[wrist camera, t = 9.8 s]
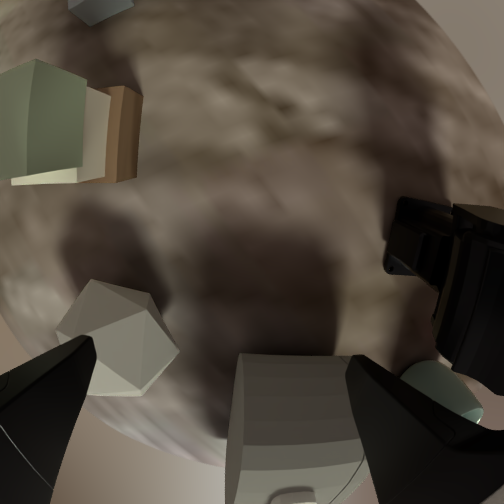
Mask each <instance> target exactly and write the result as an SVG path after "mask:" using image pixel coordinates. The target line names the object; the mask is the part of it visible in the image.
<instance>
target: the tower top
mask: <svg viewBox="0 0 504 504" xmlns="http://www.w3.org/2000/svg"><path fill="white" fill-rule="evenodd" d="M110 101H111V96H109V95H107V94H105V93H102V92H100V91H97V90H95V89H92V88H90V87H87V86H86V96H85V108H84V123H83V167H77V168H70V169H64V170H57V171H51V172H45V173H40V174H34V175H29V176H23V177H17V178H12V185H27V184H51V183H78V182H83V181H87V180H91V179H96V178H101V177H105V158H106V141H107V129H108V118H109V109H110Z"/></svg>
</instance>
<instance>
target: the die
mask: <svg viewBox="0 0 504 504" xmlns="http://www.w3.org/2000/svg"><path fill="white" fill-rule="evenodd" d="M56 333H57V336H58V339H59V342H60V345H61V344H63V343H65V342H67V341H69V340H71V339H73V338H75V337H77V336H79V335H82V334H83V335H88V336H91V337H92V338H93V341H94V345H95V349H96V353H97V361H96V364H95V368H94V371H93V374H92V378H91V381H90V385H89V388H88V392H87V395H98V396H142V395H143V394H144V393H145V392H146V390H147V389H148V388H149V387H150V386H151V385H152V383H153V382H154V381H155V380H156V379H157V378H158V377H159V375H160V374H161V373H162V372H163V371H164V370H165V368H166V367H167V366H168V365H169V364H170V363H171V361H172V360H173V359H174V358H175V357H176V356H177V354H178V353H179V352H180V350H179V349H178V347H177V345H176V343H175V341H174V340H173V338H172V336H171V334H170V332H169V330H168V328H167V326H166V325H165V323H164V321H163V319H162V317H161V315H160V313H159V311H158V309H157V307H156V305H155V303H154V301H153V299H152V297H151V295H150V293H146V292H142V291H138V290H133V289H129V288H125V287H121V286H117V285H113V284H109V283H105V282H101V281H98V280H94V279H90V281H89V282H88V283H87V285H86V286H85V288H84V289H83V290H82V292H81V293H80V294H79V296H78V297H77V299H76V300H75V302H74V303H73V304H72V306H71V307H70V309H69V310H68V312H67V313H66V315H65V316H64V318H63V319H62V321H61V322H60V324H59V325H58V327H57V328H56Z"/></svg>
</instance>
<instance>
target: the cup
mask: <svg viewBox="0 0 504 504" xmlns="http://www.w3.org/2000/svg"><path fill="white" fill-rule="evenodd" d="M400 379H402V380H403V381H405V382H406V383H408V384H409V385H411V386H412V387H414V388H416V389H417V390H419V391H420V392H422V393H423V394H425V395H427V396H428V397H430V398H431V399H433V400H435V401H436V402H438V403H439V404H441V405H443V406H444V407H446V408H448V409H449V410H451V411H453V412H455V413H457V414H459V415H460V416H462V417H464V418H466V419H468V420H470V421H472V422H474V423H476V424H478V422H479V421H480V419H481V417H482V415H483V411H484V410H483V407H482V405H481V403H480V402H479V401H478V399H477V398H476V397H475V395H474V394H473V393H472V392H471V390H470V389H469V388H468V387H467V386H466V384H465V383H464V382H463V381H462V380H461V379H460V378H459V376H458V375H457V374H456V373H455V372H453V371H452V370H451V369H450V368H449V367H447V366H446V365H444V364H443V363H441V362H439V361H435V360H425V361H421V362H418V363H416V364H414V365H412V366H411V367H409V368H408V369H407V370H406V371H405V372H404V373H403V374H402V376H401V377H400Z"/></svg>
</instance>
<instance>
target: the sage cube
mask: <svg viewBox="0 0 504 504" xmlns="http://www.w3.org/2000/svg"><path fill="white" fill-rule="evenodd" d="M86 86H87V79H84V78H82V77H80V76H78V75H75V74H73V73H70V72H68V71H66V70H63V69H61V68H58V67H56V66H53V65H51V64H48V63H46V62H43V61H40V60H38V59H34V60H32V61H29V62H27V63H24V64H22V65H19V66H17V67H15V68H12V69H10V70H8V71H6V72H4V73H2V74H0V180H5V179H11V178H17V177H23V176H29V175H34V174H40V173H45V172H51V171H57V170H64V169H70V168H77V167H83V123H84V108H85V96H86Z"/></svg>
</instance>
